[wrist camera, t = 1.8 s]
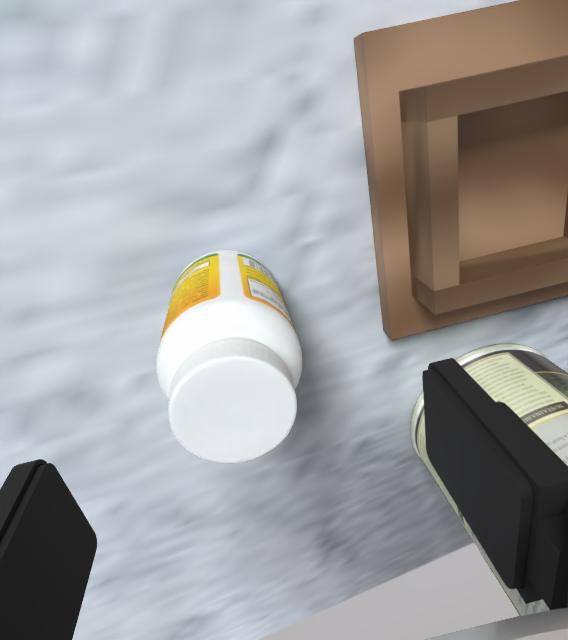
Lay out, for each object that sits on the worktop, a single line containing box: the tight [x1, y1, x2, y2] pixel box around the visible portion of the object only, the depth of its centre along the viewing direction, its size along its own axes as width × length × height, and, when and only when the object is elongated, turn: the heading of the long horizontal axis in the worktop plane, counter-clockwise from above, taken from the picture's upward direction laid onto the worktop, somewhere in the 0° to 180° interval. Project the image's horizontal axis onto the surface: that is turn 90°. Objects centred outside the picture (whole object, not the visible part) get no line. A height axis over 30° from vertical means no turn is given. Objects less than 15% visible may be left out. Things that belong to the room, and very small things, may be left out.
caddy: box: [354, 0, 568, 340], centre depth 20 cm, size 14×12×4 cm
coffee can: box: [410, 344, 568, 616], centre depth 21 cm, size 10×10×14 cm
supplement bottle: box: [156, 250, 302, 463], centre depth 17 cm, size 5×5×10 cm
